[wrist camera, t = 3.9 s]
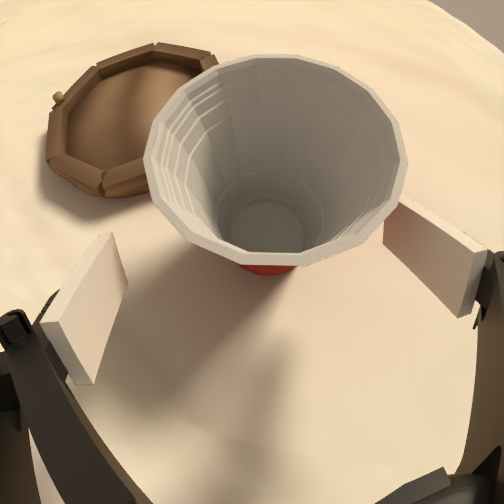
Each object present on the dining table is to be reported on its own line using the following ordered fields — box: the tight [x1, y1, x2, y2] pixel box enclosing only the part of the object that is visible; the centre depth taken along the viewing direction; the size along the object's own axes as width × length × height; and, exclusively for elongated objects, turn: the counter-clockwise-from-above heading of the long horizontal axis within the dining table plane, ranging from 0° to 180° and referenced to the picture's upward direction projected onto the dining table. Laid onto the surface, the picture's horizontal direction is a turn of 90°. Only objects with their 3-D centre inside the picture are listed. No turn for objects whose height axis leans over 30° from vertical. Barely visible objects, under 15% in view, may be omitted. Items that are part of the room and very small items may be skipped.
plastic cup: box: [143, 55, 408, 275], centre depth 17 cm, size 11×11×12 cm
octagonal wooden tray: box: [46, 42, 219, 198], centre depth 25 cm, size 17×17×4 cm
